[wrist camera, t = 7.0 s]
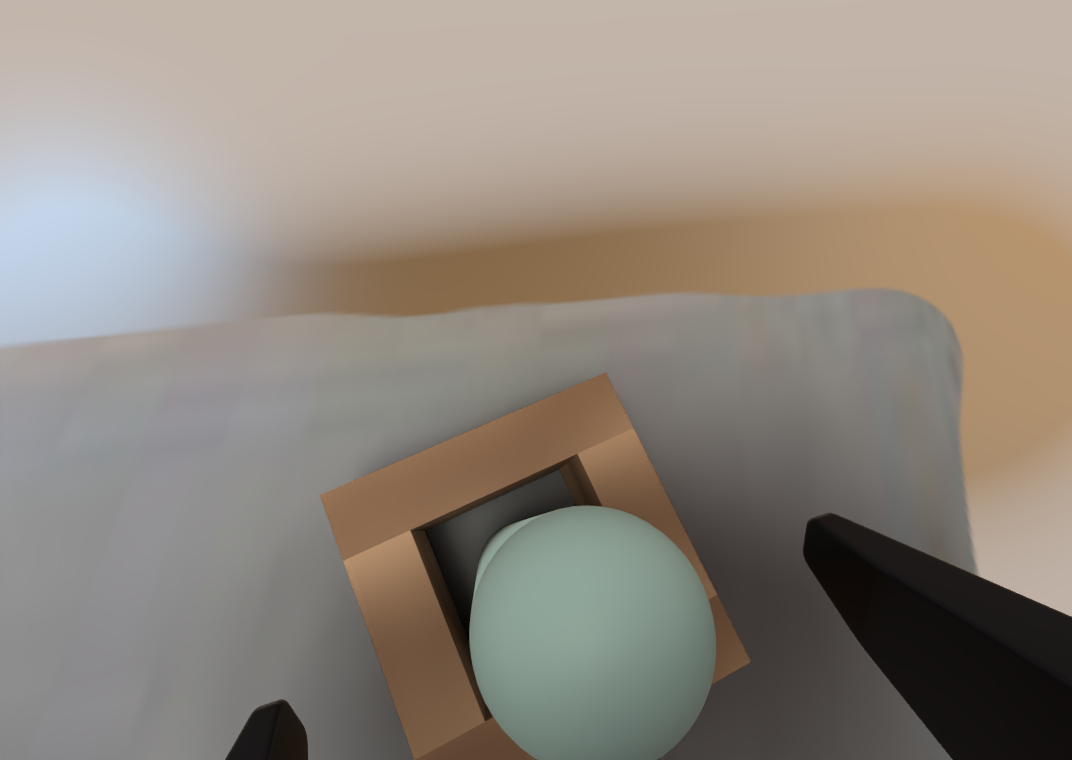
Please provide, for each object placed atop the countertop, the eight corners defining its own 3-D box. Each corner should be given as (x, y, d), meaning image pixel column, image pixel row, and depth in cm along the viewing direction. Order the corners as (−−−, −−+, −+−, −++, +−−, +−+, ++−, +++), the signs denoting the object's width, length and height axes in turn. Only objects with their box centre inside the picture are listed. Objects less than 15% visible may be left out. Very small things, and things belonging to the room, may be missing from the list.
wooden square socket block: (695, 635, 19) (751, 661, 15) (452, 771, 17) (443, 841, 13) (582, 402, 21) (605, 372, 17) (353, 503, 19) (319, 495, 15)
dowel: (575, 612, 18) (797, 803, 5) (481, 625, 18) (479, 865, 5) (563, 516, 19) (730, 483, 6) (473, 527, 19) (454, 516, 6)
